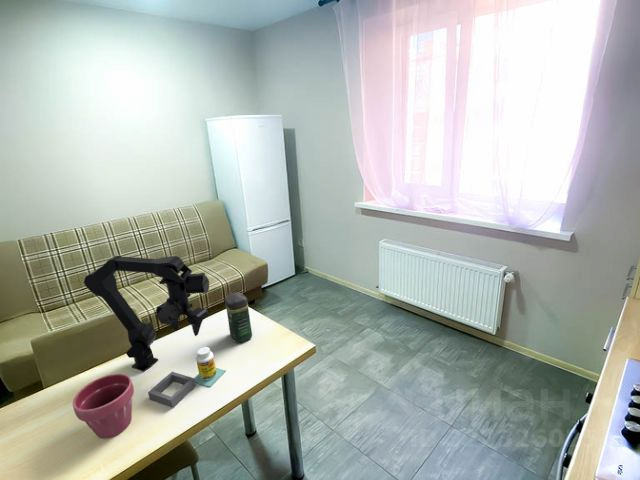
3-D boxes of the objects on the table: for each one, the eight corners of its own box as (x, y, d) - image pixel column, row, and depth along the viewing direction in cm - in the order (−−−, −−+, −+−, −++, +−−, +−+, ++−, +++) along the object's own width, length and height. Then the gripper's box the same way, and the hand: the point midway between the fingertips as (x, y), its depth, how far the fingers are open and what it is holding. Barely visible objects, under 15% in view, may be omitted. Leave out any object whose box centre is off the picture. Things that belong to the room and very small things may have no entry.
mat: (191, 381, 113) (191, 380, 113) (207, 366, 120) (207, 365, 120) (210, 387, 110) (210, 386, 110) (225, 371, 117) (225, 370, 117)
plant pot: (118, 401, 107) (108, 368, 103) (152, 412, 102) (142, 378, 98) (73, 439, 94) (59, 403, 90) (109, 454, 89) (95, 417, 85)
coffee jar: (255, 338, 134) (249, 297, 128) (236, 346, 130) (229, 304, 124) (246, 327, 142) (240, 288, 136) (228, 334, 138) (221, 294, 132)
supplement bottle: (202, 383, 111) (197, 358, 108) (198, 374, 116) (192, 349, 112) (219, 376, 114) (214, 351, 111) (214, 367, 119) (209, 343, 115)
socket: (149, 399, 107) (147, 392, 106) (173, 378, 115) (172, 371, 114) (173, 408, 103) (171, 400, 102) (196, 385, 111) (194, 378, 110)
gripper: (137, 300, 110) (148, 340, 116) (180, 310, 103) (190, 352, 108) (164, 285, 120) (173, 323, 125) (205, 293, 113) (213, 333, 118)
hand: (186, 332), depth 119 cm, fingers open, 9 cm apart
